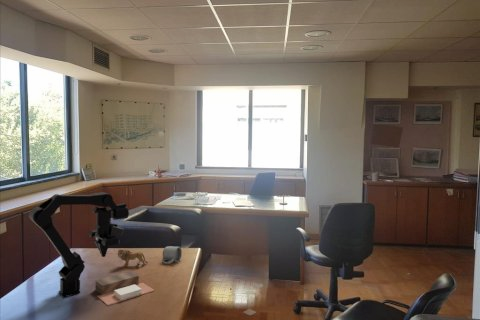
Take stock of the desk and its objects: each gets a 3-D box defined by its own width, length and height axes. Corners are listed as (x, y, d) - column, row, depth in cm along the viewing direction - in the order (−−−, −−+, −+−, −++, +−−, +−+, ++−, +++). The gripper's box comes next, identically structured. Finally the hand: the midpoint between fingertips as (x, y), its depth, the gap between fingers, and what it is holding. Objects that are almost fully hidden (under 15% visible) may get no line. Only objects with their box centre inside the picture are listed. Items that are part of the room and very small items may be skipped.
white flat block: (114, 290, 139) (114, 295, 139) (120, 295, 135) (120, 300, 135) (134, 284, 145) (134, 288, 145) (141, 288, 141) (141, 293, 141)
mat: (107, 305, 131) (107, 304, 131) (97, 296, 138) (97, 296, 138) (154, 290, 145) (154, 290, 145) (142, 283, 152) (142, 282, 152)
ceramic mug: (168, 257, 187) (168, 243, 187) (182, 259, 185) (182, 245, 184) (158, 264, 177) (158, 249, 176) (172, 266, 175) (172, 251, 174)
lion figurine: (117, 268, 169) (117, 250, 168) (117, 264, 174) (117, 247, 173) (148, 265, 174) (148, 248, 174) (147, 262, 179) (147, 245, 179)
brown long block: (102, 295, 139) (102, 285, 139) (95, 289, 144) (95, 280, 144) (138, 284, 150) (138, 275, 150) (131, 279, 155) (131, 271, 155)
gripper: (131, 222, 148) (130, 258, 149) (112, 215, 162) (112, 248, 162) (105, 226, 140) (105, 264, 141) (88, 218, 154) (88, 252, 155)
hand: (103, 256), depth 150 cm, fingers closed
